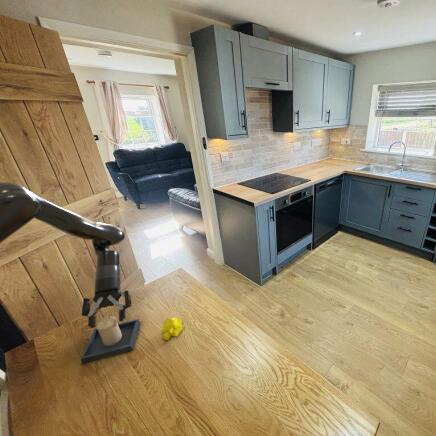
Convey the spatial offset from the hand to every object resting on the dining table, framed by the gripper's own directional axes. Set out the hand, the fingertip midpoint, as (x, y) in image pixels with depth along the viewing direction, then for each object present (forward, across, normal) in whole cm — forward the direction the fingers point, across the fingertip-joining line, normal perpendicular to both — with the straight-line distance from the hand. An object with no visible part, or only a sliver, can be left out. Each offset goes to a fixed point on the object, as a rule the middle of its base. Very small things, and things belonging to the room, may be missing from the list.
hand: (107, 324), depth 84 cm
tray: (+6, 0, +6) cm, 8 cm away
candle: (+6, 0, +6) cm, 8 cm away
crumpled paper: (+8, +20, +5) cm, 22 cm away
